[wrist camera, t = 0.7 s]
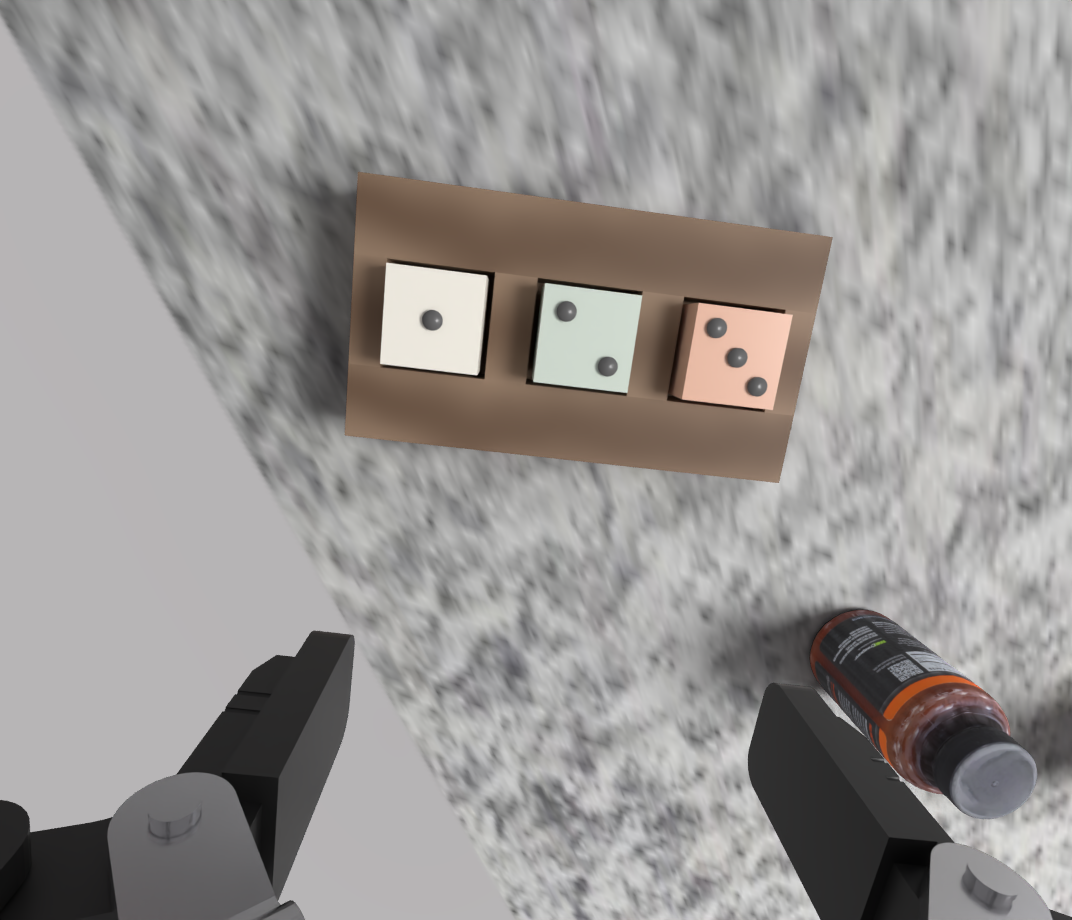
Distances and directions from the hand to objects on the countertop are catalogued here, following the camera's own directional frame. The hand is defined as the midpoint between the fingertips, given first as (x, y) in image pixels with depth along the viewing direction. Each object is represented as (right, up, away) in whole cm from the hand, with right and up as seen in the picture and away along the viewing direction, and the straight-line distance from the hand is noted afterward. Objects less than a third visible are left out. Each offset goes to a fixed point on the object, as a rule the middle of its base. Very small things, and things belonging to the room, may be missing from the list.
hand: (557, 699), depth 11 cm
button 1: (-5, +11, +18) cm, 22 cm away
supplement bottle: (+19, -7, +26) cm, 33 cm away
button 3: (+9, +10, +19) cm, 23 cm away
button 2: (+2, +11, +19) cm, 22 cm away
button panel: (+2, +11, +21) cm, 24 cm away
